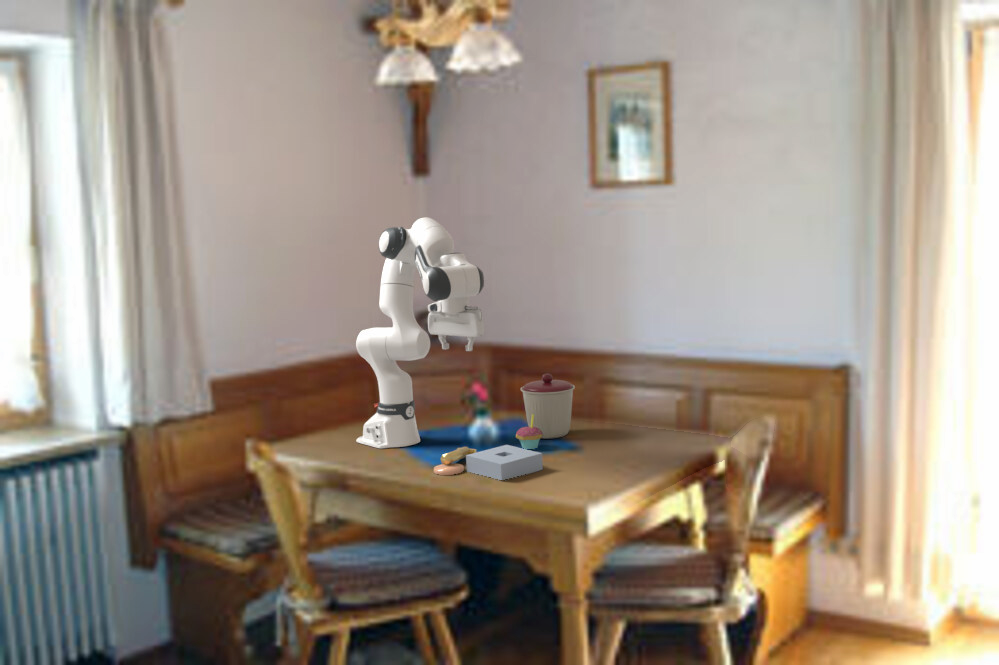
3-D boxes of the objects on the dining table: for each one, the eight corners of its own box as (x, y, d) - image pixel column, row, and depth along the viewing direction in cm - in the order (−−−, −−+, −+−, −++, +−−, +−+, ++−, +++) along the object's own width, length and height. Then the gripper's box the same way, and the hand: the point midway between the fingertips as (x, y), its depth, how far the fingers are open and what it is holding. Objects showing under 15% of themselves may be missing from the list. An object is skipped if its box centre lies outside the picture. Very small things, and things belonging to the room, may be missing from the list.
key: (436, 464, 313) (458, 455, 328) (454, 465, 310) (476, 456, 326) (436, 453, 312) (459, 445, 328) (454, 455, 310) (476, 446, 326)
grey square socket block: (466, 471, 309) (466, 455, 308) (507, 460, 319) (506, 444, 318) (501, 481, 296) (500, 464, 296) (542, 469, 307) (542, 453, 306)
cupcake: (547, 446, 334) (546, 409, 332) (535, 452, 327) (533, 415, 325) (524, 444, 338) (522, 407, 337) (511, 450, 331) (509, 413, 329)
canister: (577, 428, 356) (575, 368, 353) (575, 441, 338) (573, 378, 335) (525, 429, 358) (522, 369, 355) (520, 442, 340) (517, 379, 337)
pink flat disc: (427, 473, 309) (427, 469, 309) (447, 465, 316) (447, 462, 316) (450, 477, 303) (450, 473, 303) (470, 469, 311) (469, 465, 310)
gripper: (487, 305, 315) (490, 350, 316) (436, 303, 327) (439, 346, 329) (474, 307, 310) (477, 353, 312) (423, 305, 322) (426, 349, 324)
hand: (457, 350), depth 320 cm, fingers open, 8 cm apart
